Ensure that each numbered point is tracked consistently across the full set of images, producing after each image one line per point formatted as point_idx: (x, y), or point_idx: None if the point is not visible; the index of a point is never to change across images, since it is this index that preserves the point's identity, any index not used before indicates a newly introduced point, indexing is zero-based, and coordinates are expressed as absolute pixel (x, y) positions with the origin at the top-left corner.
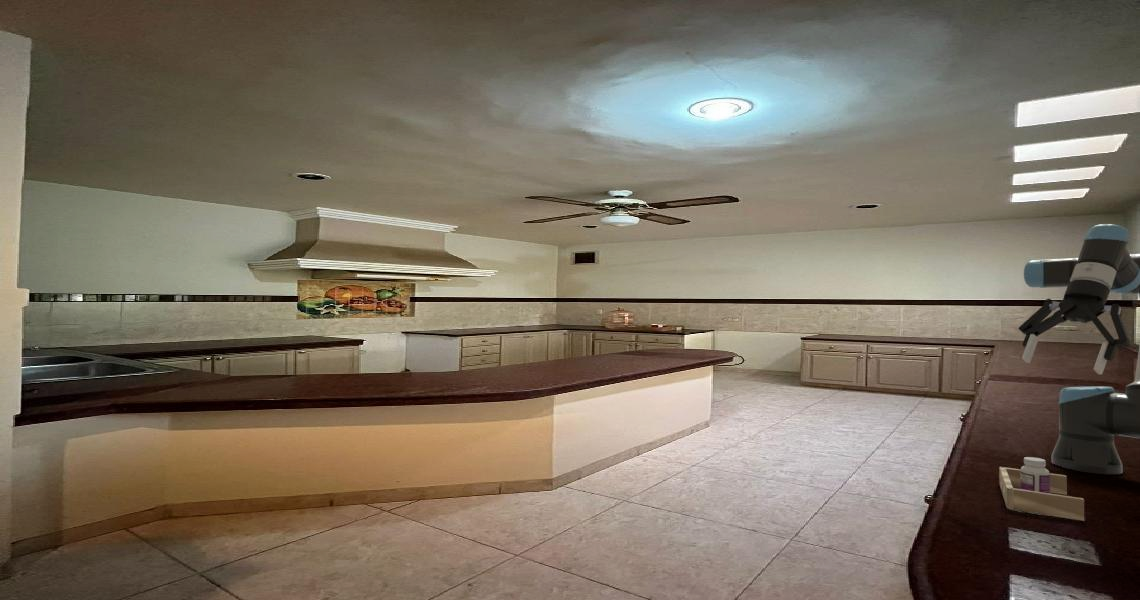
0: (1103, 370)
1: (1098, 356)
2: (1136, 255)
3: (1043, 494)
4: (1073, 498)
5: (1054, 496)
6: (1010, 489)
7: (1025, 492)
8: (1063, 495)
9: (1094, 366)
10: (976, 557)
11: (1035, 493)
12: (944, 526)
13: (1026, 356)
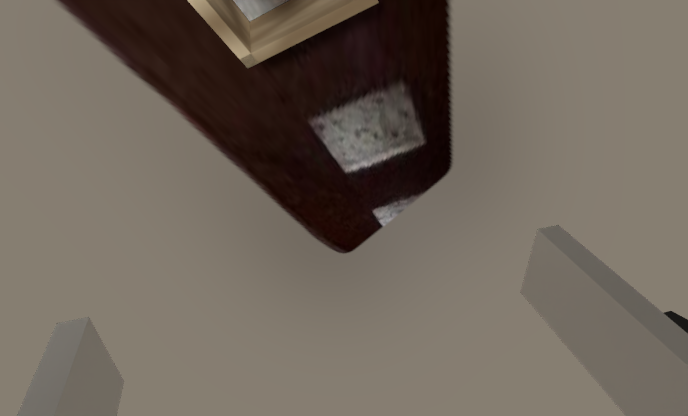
0: (581, 244)
1: (588, 365)
2: None
3: (308, 37)
4: (359, 11)
5: (326, 27)
6: (253, 64)
7: (278, 51)
8: (338, 9)
9: (532, 304)
10: (339, 208)
11: (294, 43)
12: (268, 178)
13: (115, 396)
